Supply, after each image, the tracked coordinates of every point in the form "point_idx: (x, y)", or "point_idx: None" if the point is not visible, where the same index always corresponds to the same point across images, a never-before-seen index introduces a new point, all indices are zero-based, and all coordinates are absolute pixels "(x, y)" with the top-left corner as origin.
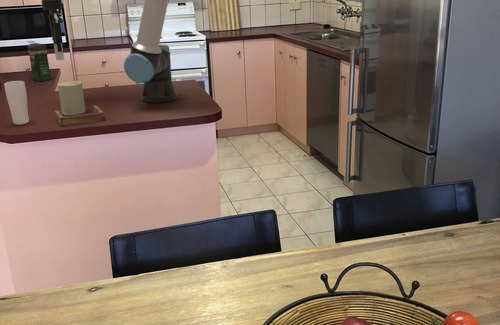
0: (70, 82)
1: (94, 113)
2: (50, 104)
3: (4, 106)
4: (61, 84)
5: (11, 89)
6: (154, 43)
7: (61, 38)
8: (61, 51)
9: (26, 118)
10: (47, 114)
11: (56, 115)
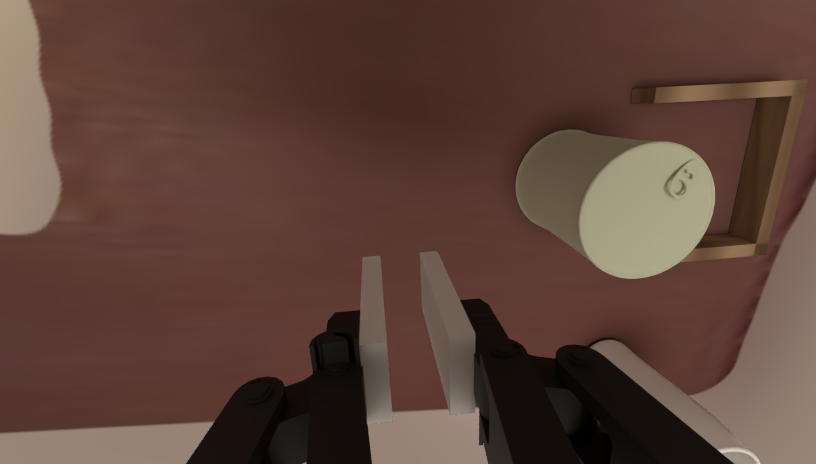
0: (618, 207)
1: (791, 121)
2: None
3: None
4: (640, 258)
5: None
6: None
7: (633, 389)
8: (479, 303)
9: (632, 352)
10: (536, 278)
11: None
